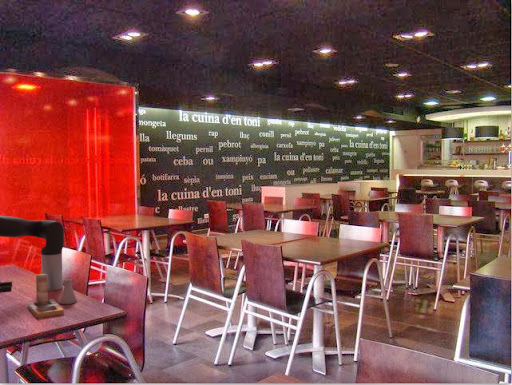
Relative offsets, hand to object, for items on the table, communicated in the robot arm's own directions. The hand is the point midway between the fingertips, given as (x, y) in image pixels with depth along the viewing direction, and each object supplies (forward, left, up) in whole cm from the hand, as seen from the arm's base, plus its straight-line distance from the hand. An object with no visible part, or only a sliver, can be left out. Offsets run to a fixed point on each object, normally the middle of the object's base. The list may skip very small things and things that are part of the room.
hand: (11, 286), depth 205 cm
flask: (-1, +22, -11) cm, 25 cm away
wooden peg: (+2, +11, -10) cm, 15 cm away
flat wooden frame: (+7, +11, -10) cm, 17 cm away
